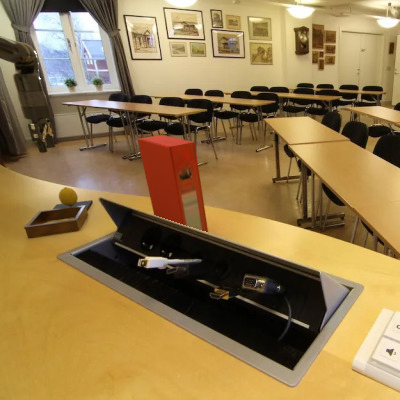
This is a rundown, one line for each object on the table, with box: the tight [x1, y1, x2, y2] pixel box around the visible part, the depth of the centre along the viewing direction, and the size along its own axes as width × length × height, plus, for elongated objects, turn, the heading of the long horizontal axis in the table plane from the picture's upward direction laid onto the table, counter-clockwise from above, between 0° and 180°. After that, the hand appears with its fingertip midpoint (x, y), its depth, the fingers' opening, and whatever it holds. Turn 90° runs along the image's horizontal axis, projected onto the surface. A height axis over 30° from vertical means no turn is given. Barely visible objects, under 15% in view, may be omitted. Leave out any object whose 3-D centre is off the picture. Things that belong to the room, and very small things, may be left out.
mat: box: [52, 199, 93, 212], centre depth 125 cm, size 12×10×1 cm
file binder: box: [137, 134, 209, 233], centre depth 98 cm, size 8×17×32 cm, turn 53°
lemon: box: [58, 186, 78, 207], centre depth 123 cm, size 6×6×8 cm
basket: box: [23, 205, 89, 239], centre depth 111 cm, size 14×14×4 cm
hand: (47, 149), depth 118 cm, fingers open, 8 cm apart
